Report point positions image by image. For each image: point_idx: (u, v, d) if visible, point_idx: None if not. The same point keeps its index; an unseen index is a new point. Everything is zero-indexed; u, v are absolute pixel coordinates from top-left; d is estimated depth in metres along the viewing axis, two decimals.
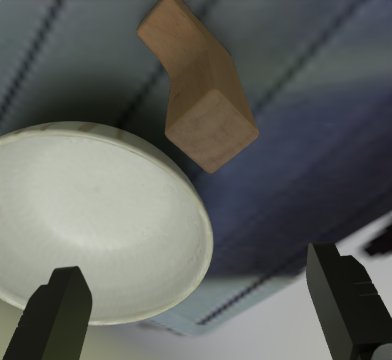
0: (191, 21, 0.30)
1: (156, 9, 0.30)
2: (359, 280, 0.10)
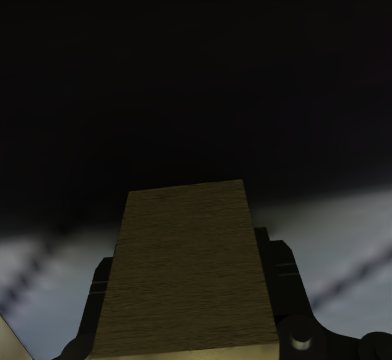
0: None
1: None
2: (285, 262, 0.11)
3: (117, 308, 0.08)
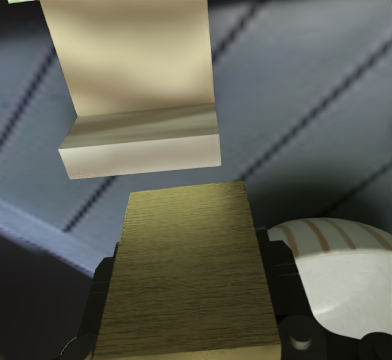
0: None
1: None
2: (284, 262, 0.11)
3: (119, 309, 0.08)
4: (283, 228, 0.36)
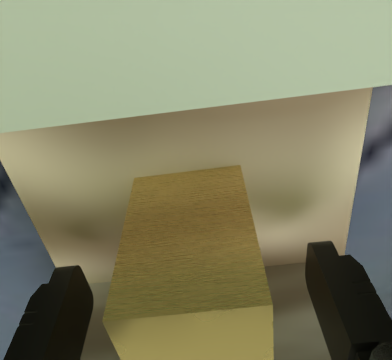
0: None
1: None
2: (358, 279, 0.10)
3: (125, 279, 0.09)
4: None
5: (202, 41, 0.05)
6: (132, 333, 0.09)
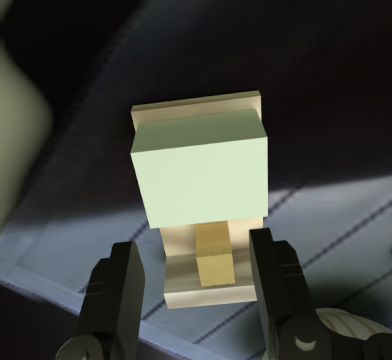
0: None
1: None
2: (288, 262, 0.11)
3: (199, 249, 0.40)
4: None
5: (218, 214, 0.35)
6: (202, 260, 0.39)
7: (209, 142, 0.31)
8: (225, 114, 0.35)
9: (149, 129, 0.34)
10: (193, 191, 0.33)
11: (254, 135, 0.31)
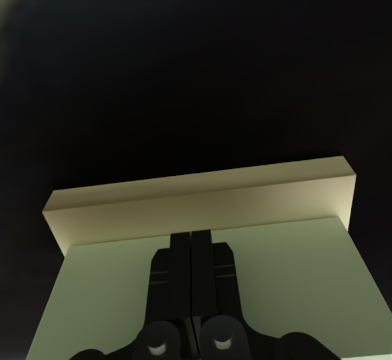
0: None
1: None
2: (224, 263, 0.11)
3: None
4: None
5: None
6: None
7: None
8: (268, 230, 0.15)
9: (87, 273, 0.14)
10: None
11: (370, 338, 0.11)
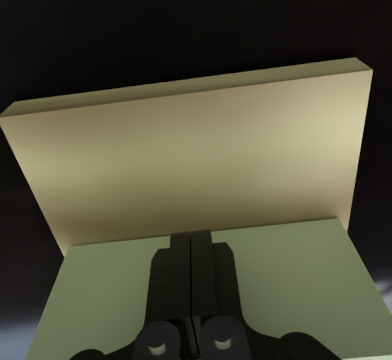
0: None
1: None
2: (224, 263, 0.11)
3: None
4: None
5: None
6: None
7: None
8: (267, 231, 0.15)
9: (87, 273, 0.14)
10: None
11: (369, 339, 0.11)
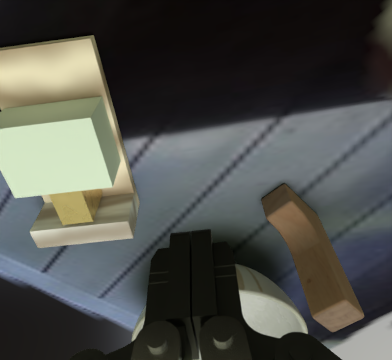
0: (304, 214, 0.48)
1: (282, 207, 0.48)
2: (224, 263, 0.11)
3: None
4: None
5: (70, 185, 0.41)
6: (54, 197, 0.42)
7: (45, 122, 0.37)
8: (75, 100, 0.41)
9: (8, 113, 0.40)
10: (42, 164, 0.40)
11: (82, 116, 0.37)
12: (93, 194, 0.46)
